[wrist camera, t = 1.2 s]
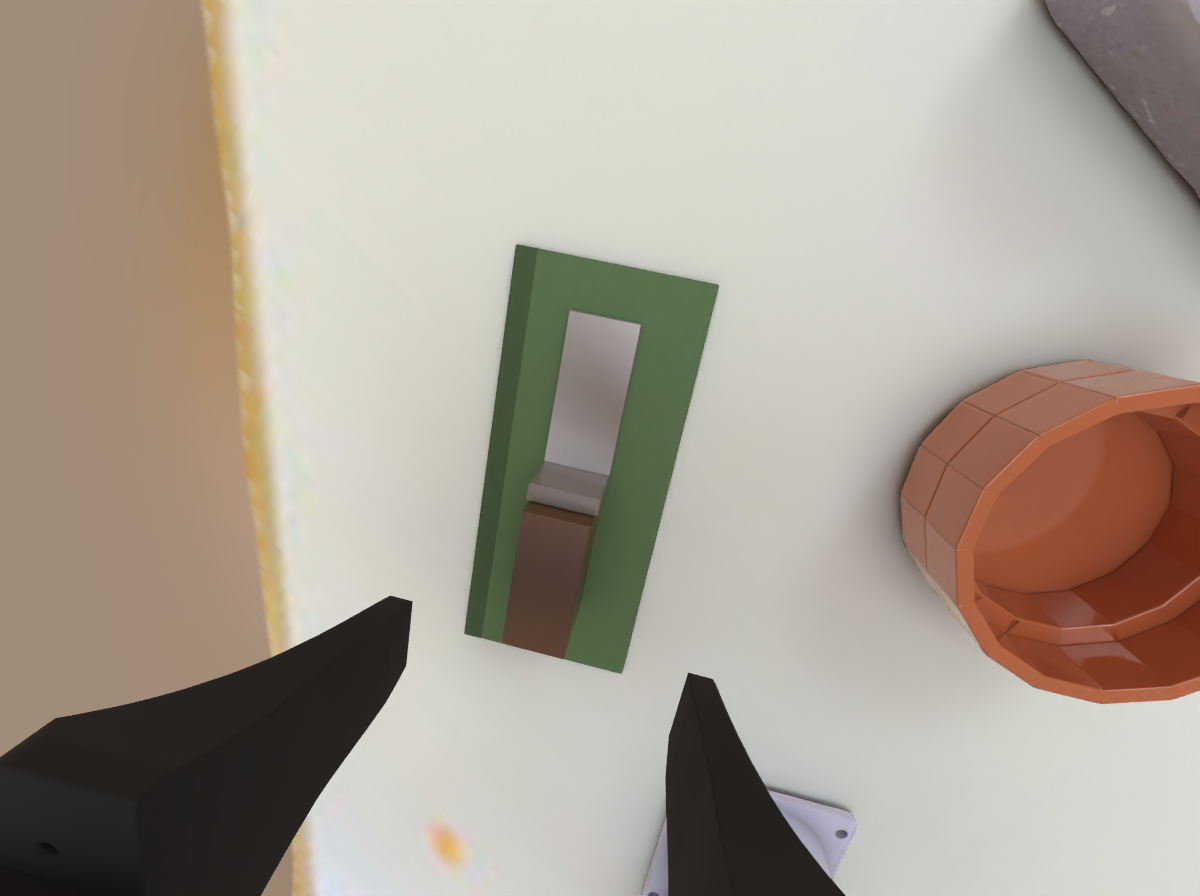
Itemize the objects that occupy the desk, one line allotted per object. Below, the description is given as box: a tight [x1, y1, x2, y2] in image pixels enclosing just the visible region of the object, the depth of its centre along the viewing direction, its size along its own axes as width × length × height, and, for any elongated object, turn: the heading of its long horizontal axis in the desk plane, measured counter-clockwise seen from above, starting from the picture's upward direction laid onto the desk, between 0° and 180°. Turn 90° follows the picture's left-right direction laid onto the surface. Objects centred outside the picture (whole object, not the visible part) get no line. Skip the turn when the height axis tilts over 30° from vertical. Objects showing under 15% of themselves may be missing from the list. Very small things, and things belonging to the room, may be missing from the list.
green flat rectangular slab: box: [465, 245, 719, 674], centre depth 22 cm, size 17×7×1 cm, turn 169°
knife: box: [502, 310, 642, 659], centre depth 20 cm, size 12×3×3 cm, turn 169°
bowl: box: [900, 360, 1200, 704], centre depth 18 cm, size 10×10×5 cm
